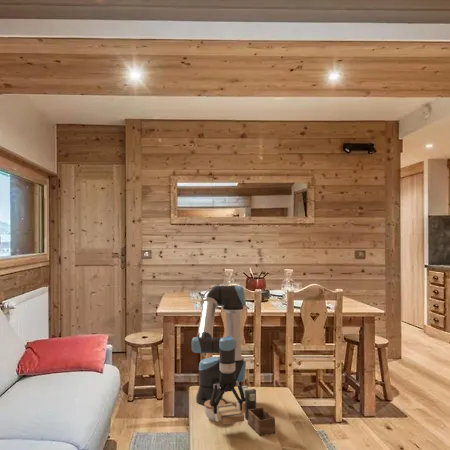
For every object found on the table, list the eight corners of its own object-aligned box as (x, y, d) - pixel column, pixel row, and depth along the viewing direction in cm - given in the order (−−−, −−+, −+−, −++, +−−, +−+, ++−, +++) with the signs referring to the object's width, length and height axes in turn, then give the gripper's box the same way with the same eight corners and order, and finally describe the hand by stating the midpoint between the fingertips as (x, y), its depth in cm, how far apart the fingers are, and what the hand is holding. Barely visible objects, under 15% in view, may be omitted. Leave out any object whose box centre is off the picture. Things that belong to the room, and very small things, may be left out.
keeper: (245, 418, 223) (245, 390, 224) (254, 416, 225) (254, 388, 225) (246, 420, 221) (246, 391, 222) (256, 418, 223) (255, 390, 223)
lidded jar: (222, 423, 217) (222, 404, 218) (202, 421, 220) (202, 403, 220) (227, 414, 228) (227, 396, 228) (207, 413, 230) (207, 395, 230)
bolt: (240, 394, 231) (239, 386, 232) (246, 393, 233) (246, 385, 233) (249, 402, 220) (249, 394, 220) (256, 401, 221) (256, 393, 222)
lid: (212, 413, 212) (212, 406, 212) (231, 410, 215) (231, 403, 215) (223, 427, 197) (223, 418, 197) (244, 423, 200) (244, 415, 200)
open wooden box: (247, 424, 217) (247, 409, 217) (262, 421, 219) (262, 407, 220) (259, 436, 203) (259, 420, 204) (275, 433, 206) (274, 418, 206)
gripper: (207, 376, 199) (207, 425, 199) (252, 370, 207) (252, 418, 206) (202, 371, 206) (202, 419, 206) (246, 366, 214) (246, 412, 213)
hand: (227, 418), depth 206 cm, fingers closed on lid, 10 cm apart
